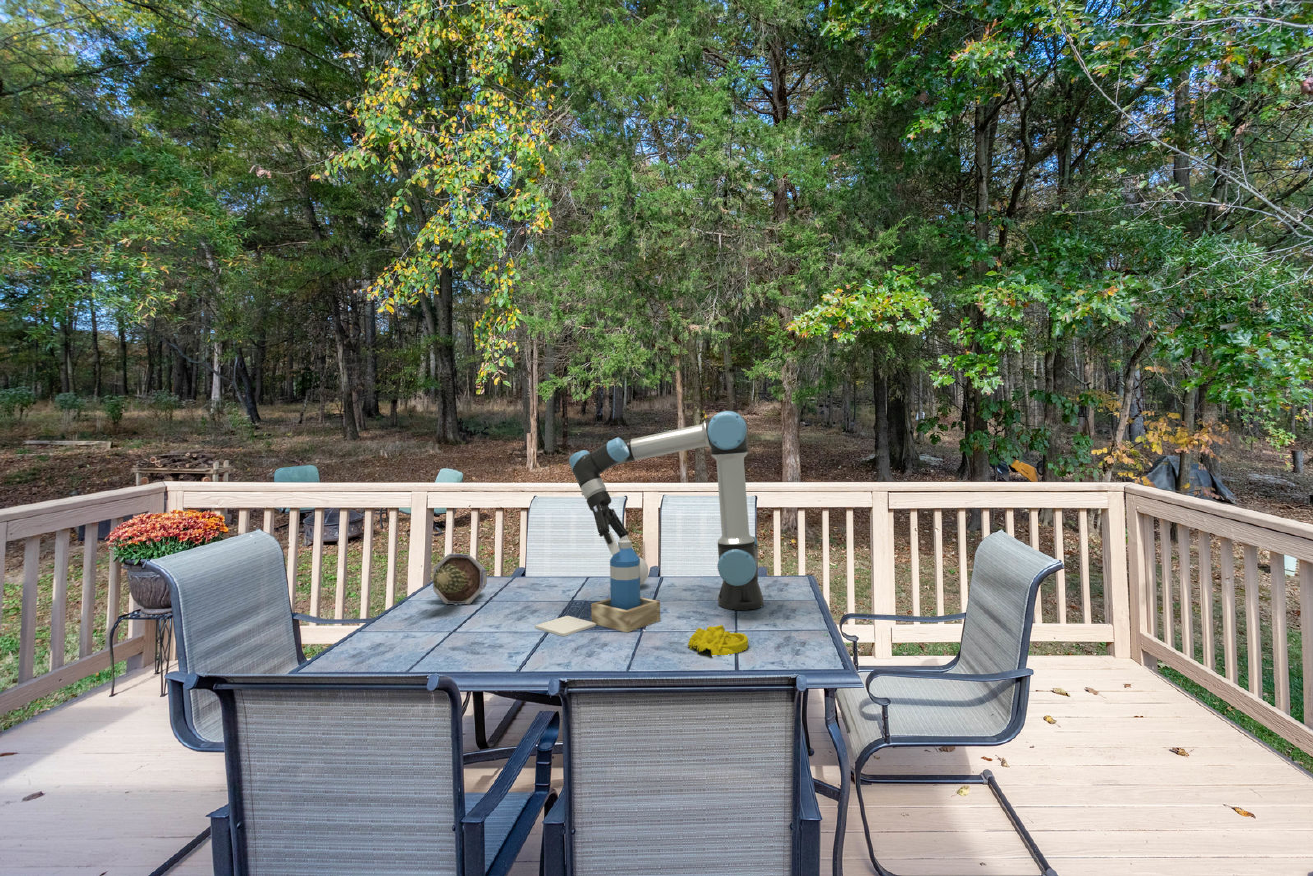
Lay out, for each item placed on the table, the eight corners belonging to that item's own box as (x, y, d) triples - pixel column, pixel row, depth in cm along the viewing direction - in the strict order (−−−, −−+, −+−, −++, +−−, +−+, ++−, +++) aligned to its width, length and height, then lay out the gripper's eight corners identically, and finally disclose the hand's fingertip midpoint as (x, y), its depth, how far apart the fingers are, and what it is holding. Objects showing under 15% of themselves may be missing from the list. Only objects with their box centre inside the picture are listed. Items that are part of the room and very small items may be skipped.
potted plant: (446, 554, 241) (417, 549, 211) (495, 556, 241) (472, 551, 211) (441, 603, 237) (410, 605, 208) (490, 605, 237) (467, 607, 207)
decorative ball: (648, 583, 252) (647, 552, 252) (648, 591, 240) (648, 558, 240) (617, 584, 252) (616, 553, 251) (616, 591, 240) (615, 559, 239)
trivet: (596, 625, 199) (595, 623, 199) (563, 636, 189) (563, 633, 189) (567, 618, 208) (567, 615, 208) (534, 628, 198) (534, 625, 198)
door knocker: (758, 651, 176) (758, 635, 176) (707, 661, 169) (707, 645, 169) (724, 634, 191) (724, 619, 191) (676, 642, 184) (676, 627, 184)
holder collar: (660, 620, 203) (659, 601, 203) (626, 632, 192) (626, 612, 192) (625, 612, 213) (624, 593, 213) (591, 623, 202) (591, 603, 202)
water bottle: (630, 628, 196) (628, 545, 196) (604, 623, 201) (603, 542, 201) (646, 620, 204) (645, 540, 204) (622, 616, 209) (621, 537, 209)
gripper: (601, 505, 224) (627, 561, 217) (570, 496, 201) (598, 558, 194) (620, 494, 223) (646, 550, 216) (590, 484, 200) (619, 546, 193)
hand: (624, 554), depth 205 cm, fingers open, 13 cm apart
